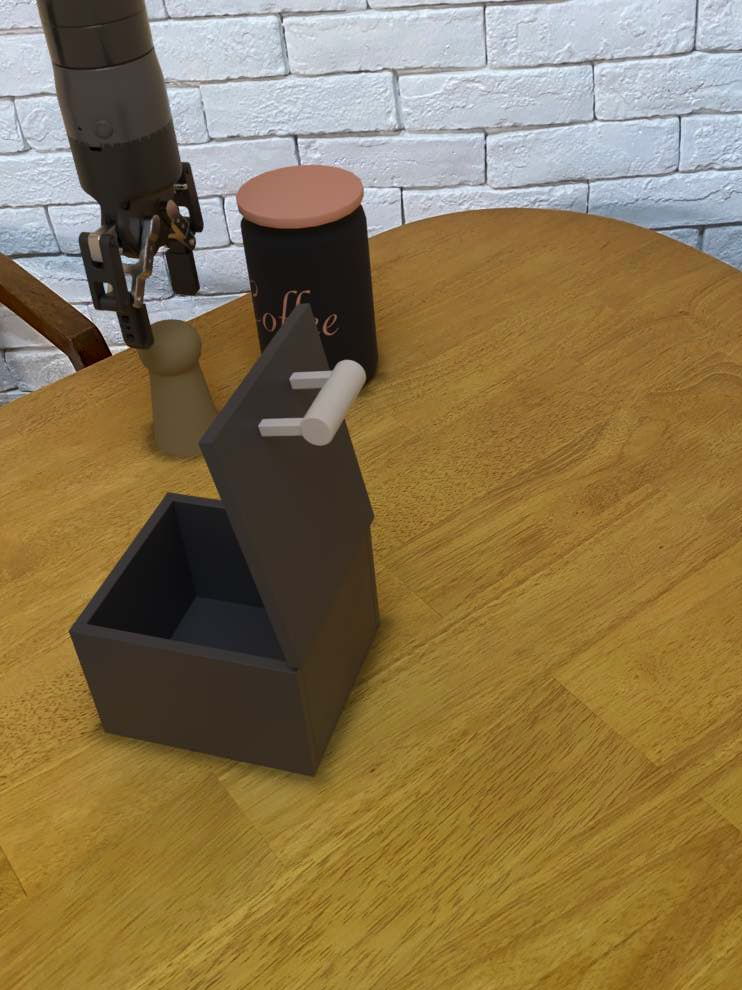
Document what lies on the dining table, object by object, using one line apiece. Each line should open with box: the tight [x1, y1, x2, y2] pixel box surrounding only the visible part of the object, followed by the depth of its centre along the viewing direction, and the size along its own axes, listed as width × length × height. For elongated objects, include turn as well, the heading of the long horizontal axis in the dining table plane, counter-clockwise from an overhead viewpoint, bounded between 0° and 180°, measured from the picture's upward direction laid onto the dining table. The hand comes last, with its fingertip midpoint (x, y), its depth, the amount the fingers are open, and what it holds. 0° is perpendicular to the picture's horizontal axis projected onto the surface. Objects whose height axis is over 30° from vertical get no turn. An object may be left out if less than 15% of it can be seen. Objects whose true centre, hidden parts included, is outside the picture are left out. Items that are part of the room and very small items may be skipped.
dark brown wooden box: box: [68, 491, 381, 778], centre depth 74 cm, size 15×14×10 cm
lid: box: [198, 303, 376, 668], centre depth 63 cm, size 16×14×5 cm
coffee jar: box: [235, 164, 379, 387], centre depth 99 cm, size 11×11×18 cm
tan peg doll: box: [136, 318, 219, 457], centre depth 95 cm, size 6×6×11 cm
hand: (164, 319), depth 91 cm, fingers open, 8 cm apart
